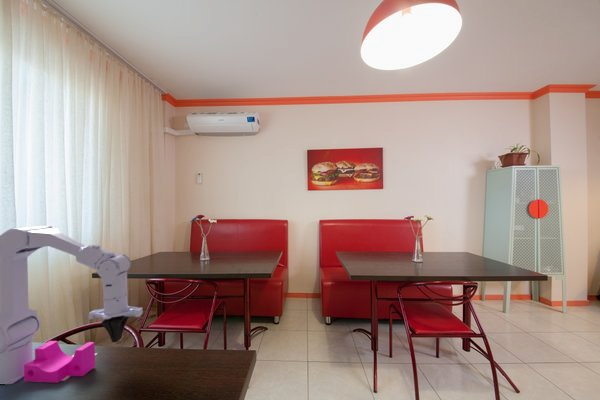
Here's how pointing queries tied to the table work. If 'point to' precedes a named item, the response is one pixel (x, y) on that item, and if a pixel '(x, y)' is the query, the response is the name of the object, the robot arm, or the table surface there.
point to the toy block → (59, 363)
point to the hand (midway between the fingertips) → (116, 340)
